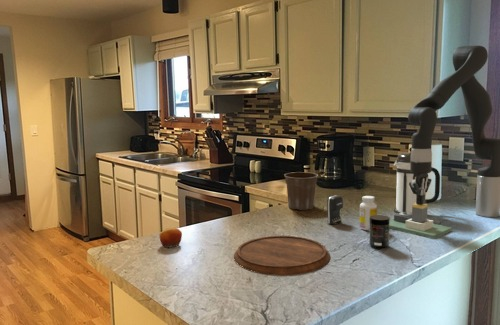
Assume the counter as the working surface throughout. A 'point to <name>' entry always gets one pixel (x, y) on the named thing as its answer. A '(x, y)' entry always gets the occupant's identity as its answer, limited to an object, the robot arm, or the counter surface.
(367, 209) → the supplement bottle
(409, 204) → the coffee press
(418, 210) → the plug
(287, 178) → the plant pot
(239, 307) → the counter surface
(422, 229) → the header board
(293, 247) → the cutting board
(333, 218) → the battery charger
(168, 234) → the fruit
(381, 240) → the supplement container
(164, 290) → the counter surface
